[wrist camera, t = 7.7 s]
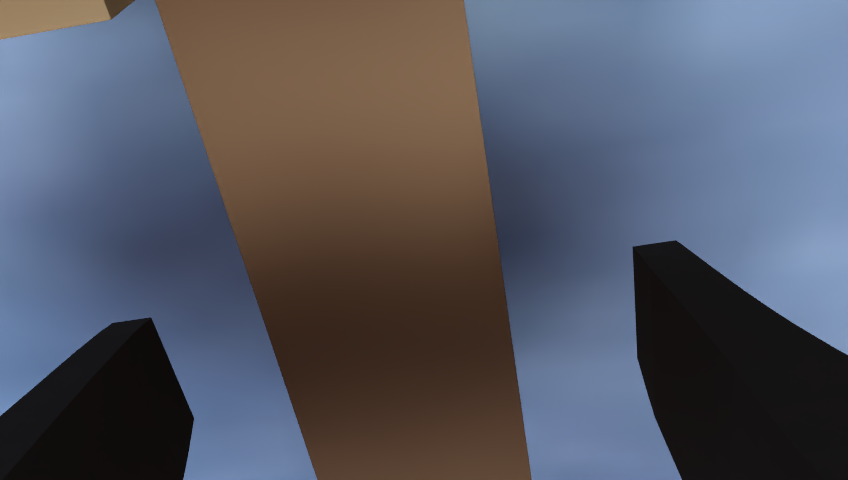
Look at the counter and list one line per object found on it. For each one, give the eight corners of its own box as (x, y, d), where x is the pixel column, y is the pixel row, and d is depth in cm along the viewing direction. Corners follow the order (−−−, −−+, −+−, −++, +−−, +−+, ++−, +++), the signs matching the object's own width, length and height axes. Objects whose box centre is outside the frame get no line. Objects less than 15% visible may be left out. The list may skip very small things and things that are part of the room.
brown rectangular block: (510, 368, 19) (543, 565, 14) (368, 387, 19) (354, 588, 15) (418, -263, 12) (424, -284, 8) (204, -220, 13) (81, -217, 8)
